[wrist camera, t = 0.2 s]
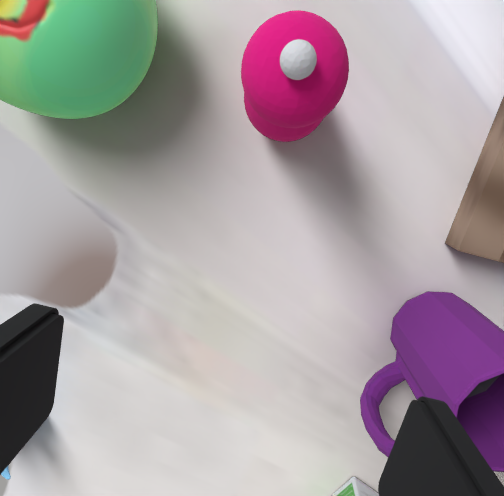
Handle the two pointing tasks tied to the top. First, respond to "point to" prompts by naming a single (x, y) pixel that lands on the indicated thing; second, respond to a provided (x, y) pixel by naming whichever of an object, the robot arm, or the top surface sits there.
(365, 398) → the mug
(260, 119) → the pepper mill
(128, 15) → the toy bird
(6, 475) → the teapot
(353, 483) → the skincare box
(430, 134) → the top surface
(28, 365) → the robot arm
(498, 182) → the button board
